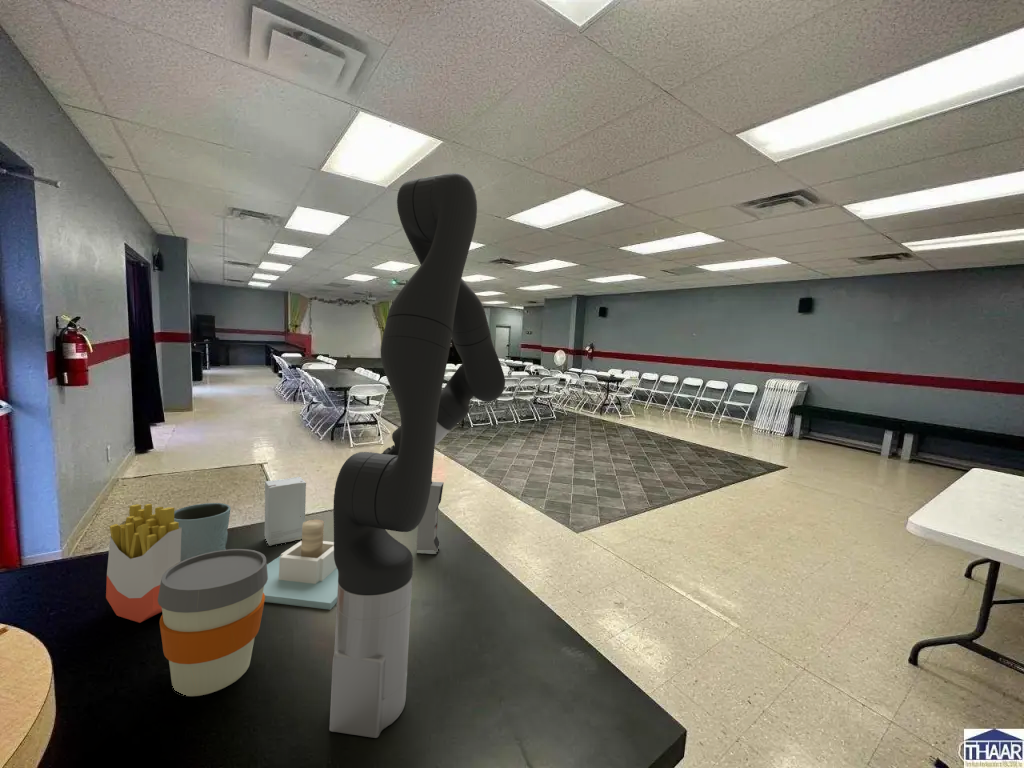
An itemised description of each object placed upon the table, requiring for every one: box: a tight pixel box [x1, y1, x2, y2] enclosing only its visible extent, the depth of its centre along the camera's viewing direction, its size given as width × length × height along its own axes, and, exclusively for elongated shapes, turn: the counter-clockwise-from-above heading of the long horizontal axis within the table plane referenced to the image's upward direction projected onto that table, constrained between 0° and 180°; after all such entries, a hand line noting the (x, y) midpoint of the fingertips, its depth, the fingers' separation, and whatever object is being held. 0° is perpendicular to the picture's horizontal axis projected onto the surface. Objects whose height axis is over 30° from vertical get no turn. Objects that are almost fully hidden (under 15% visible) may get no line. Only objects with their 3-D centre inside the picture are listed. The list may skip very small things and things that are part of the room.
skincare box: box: [264, 476, 307, 545], centre depth 102 cm, size 8×6×15 cm
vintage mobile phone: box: [416, 479, 444, 551], centre depth 100 cm, size 4×5×25 cm
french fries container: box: [105, 503, 182, 624], centre depth 70 cm, size 5×11×18 cm, turn 74°
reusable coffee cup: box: [158, 548, 268, 697], centre depth 58 cm, size 12×13×15 cm
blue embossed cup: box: [174, 502, 232, 562], centre depth 87 cm, size 10×10×12 cm
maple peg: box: [301, 519, 325, 558], centre depth 86 cm, size 4×4×10 cm
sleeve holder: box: [263, 540, 338, 610], centre depth 86 cm, size 20×20×6 cm
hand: (363, 484), depth 83 cm, fingers open, 8 cm apart
